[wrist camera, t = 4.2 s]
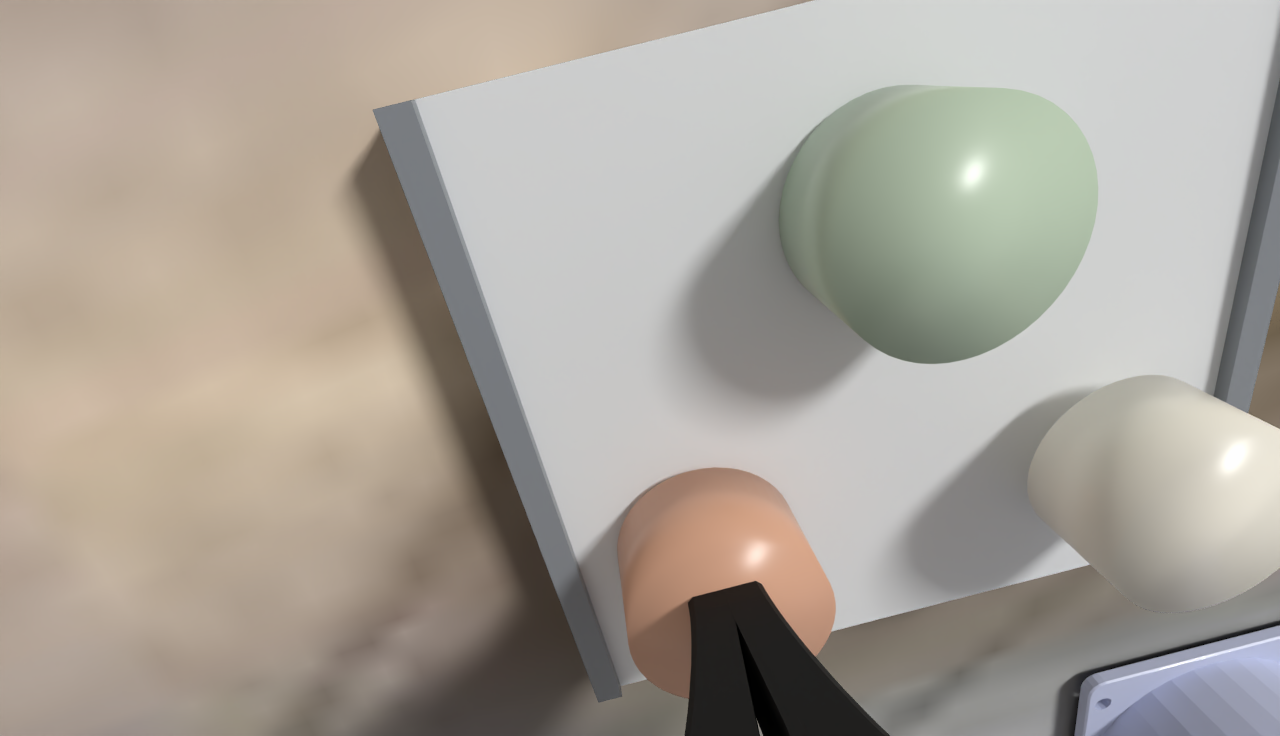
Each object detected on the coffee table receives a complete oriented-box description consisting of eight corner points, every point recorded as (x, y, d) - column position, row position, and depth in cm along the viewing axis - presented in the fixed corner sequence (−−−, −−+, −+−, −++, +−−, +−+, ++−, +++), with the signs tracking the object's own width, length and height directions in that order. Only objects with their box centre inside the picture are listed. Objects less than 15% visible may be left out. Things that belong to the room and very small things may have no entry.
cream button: (1190, 507, 15) (1300, 582, 12) (1022, 550, 15) (1104, 634, 12) (1222, 353, 13) (1356, 410, 11) (1032, 402, 13) (1128, 469, 11)
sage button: (992, 283, 12) (1084, 329, 10) (792, 334, 12) (842, 390, 10) (998, 58, 10) (1112, 54, 8) (764, 117, 10) (819, 128, 8)
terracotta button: (802, 585, 15) (843, 671, 13) (638, 627, 15) (652, 721, 13) (782, 447, 13) (826, 520, 11) (597, 494, 13) (605, 576, 11)
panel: (1165, 505, 17) (1217, 542, 16) (595, 652, 17) (598, 702, 16) (1280, -115, 11) (1380, -141, 10) (395, 105, 11) (372, 109, 10)
